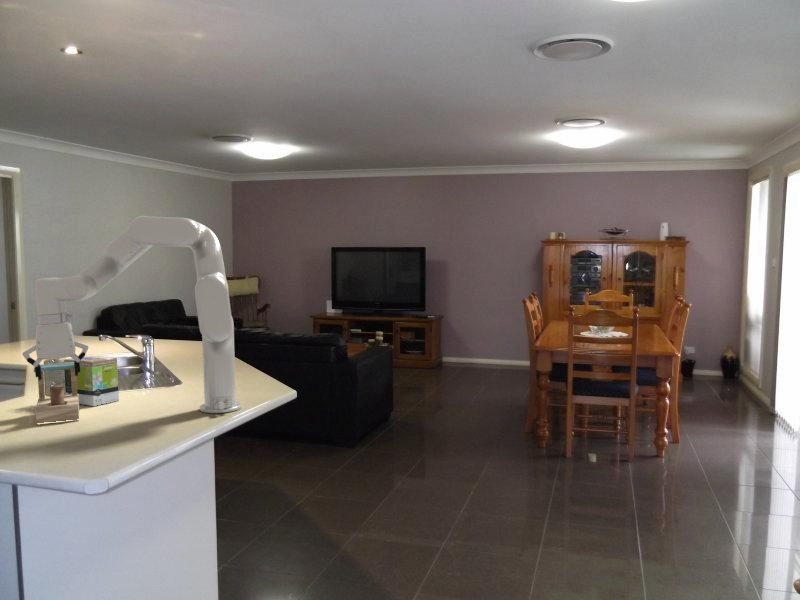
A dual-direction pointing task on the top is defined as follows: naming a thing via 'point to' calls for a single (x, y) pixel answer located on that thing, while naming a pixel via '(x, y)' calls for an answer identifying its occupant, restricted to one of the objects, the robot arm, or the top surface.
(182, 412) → the top surface
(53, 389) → the peg
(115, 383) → the tea box
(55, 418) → the socket block
